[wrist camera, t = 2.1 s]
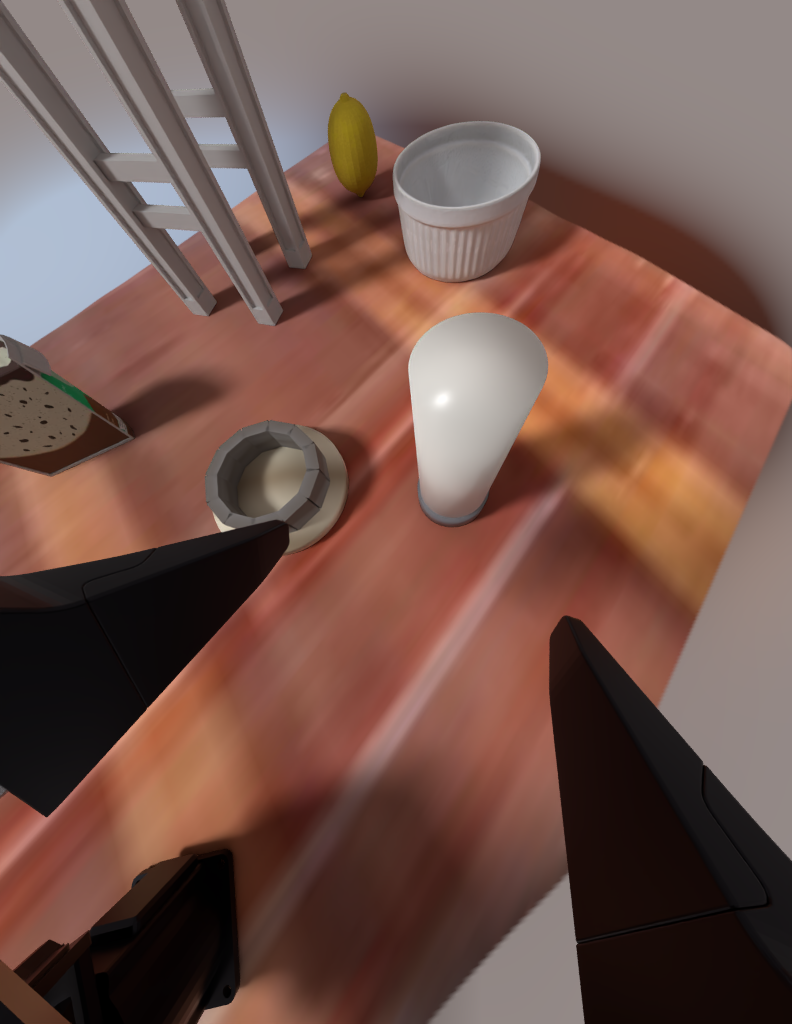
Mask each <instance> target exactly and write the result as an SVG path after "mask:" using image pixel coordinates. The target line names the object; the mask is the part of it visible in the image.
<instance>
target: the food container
mask: <svg viewBox="0 0 792 1024" xmlns="http://www.w3.org/2000/svg"><path fill="white" fill-rule="evenodd" d="M132 439H135V437H134V433H133V430H132V429H131V428H130V426H129V425H128V424H127V423H126V422H125V421H124V420H122V419H121V418H119V417H118V416H117V415H115V414H114V413H112V412H111V411H109V410H108V409H106V408H105V407H104V406H102V405H101V404H99V403H98V402H96V401H95V400H94V399H92V398H91V397H89V396H88V395H86V394H85V393H83V392H82V391H81V390H79V389H78V388H76V387H75V386H73V385H72V384H71V383H69V382H68V381H66V380H65V379H63V378H62V377H60V376H59V375H58V374H56V373H55V372H53V371H52V370H51V367H50V365H49V363H48V360H47V359H46V358H45V357H44V355H43V354H41V353H40V352H39V351H37V350H35V349H33V348H31V347H29V346H27V345H25V344H22V343H20V342H18V341H16V340H14V339H12V338H10V337H7V336H4V335H0V463H2V464H6V465H10V466H13V467H17V468H21V469H25V470H28V471H32V472H36V473H39V474H43V475H47V476H51V477H52V476H54V475H56V474H58V473H61V472H63V471H65V470H67V469H69V468H71V467H74V466H76V465H78V464H80V463H82V462H85V461H87V460H89V459H91V458H93V457H95V456H98V455H100V454H102V453H104V452H106V451H108V450H111V449H113V448H115V447H117V446H119V445H122V444H124V443H126V442H128V441H130V440H132Z"/></svg>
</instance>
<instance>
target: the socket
mask: <svg viewBox="0 0 792 1024" xmlns="http://www.w3.org/2000/svg"><path fill="white" fill-rule="evenodd" d="M219 449H220V450H218V449H217V451H216V453H215V455H214V457H213V459H212V461H211V463H210V466H209V468H208V470H207V472H206V474H205V475H207V476H205V488H206V502H207V505H208V506H209V507H210V509H211V510H212V511H213V514H214V518H215V521H216V523H217V525H218V527H219V529H220V530H221V532H225V531H229V530H233V529H237V528H241V527H246V526H250V525H254V524H258V523H263V522H267V521H271V520H276V519H278V520H281V521H284V522H287V523H288V525H289V538H290V543H289V546H288V548H287V550H286V551H285V552H284V554H283V555H282V556H285V555H289V554H294V553H296V552H299V551H302V550H304V549H306V548H308V547H310V546H312V545H313V544H315V543H316V542H318V541H319V540H320V539H321V538H322V537H324V536H325V535H326V534H327V533H328V532H329V531H330V530H331V528H332V527H333V526H334V525H335V523H336V522H337V520H338V519H339V517H340V515H341V513H342V511H343V509H344V506H345V504H346V500H347V496H348V489H349V478H348V472H347V468H346V465H345V462H344V460H343V458H342V456H341V455H340V453H339V452H338V450H337V449H336V447H335V446H334V444H333V443H332V442H331V441H330V440H329V439H328V438H327V437H326V436H324V435H323V434H322V433H320V432H318V431H316V430H314V429H312V428H309V427H306V426H301V425H295V424H289V423H283V422H278V421H272V420H270V421H268V420H267V421H264V422H261V423H257V424H254V425H251V426H248V427H244V428H242V430H241V429H240V430H239V431H237V432H236V433H235V434H234V435H233V436H232V437H230V438H229V439H228V440H227V441H226V442H225V443H223V444H222V445H221V446H220V447H219Z"/></svg>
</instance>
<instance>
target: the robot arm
mask: <svg viewBox="0 0 792 1024" xmlns="http://www.w3.org/2000/svg"><path fill="white" fill-rule="evenodd" d="M289 543H290V538H289V525H288V523H287V522H284V521H281V520H278V519H276V520H271V521H267V522H263V523H258V524H254V525H250V526H246V527H241V528H237V529H233V530H229V531H225V532H220V533H216V534H212V535H208V536H203V537H199V538H195V539H191V540H186V541H182V542H178V543H174V544H170V545H165V546H161V547H158V548H152V549H148V550H144V551H140V552H135V553H131V554H126V555H122V556H117V557H112V558H107V559H102V560H97V561H92V562H87V563H82V564H76V565H71V566H66V567H60V568H55V569H50V570H44V571H39V572H34V573H28V574H22V575H14V576H0V798H2V797H3V796H4V795H5V794H6V793H7V792H10V793H12V794H13V795H15V796H16V797H18V798H19V799H20V800H22V801H23V802H25V803H26V804H28V805H29V806H31V807H32V808H33V809H35V810H36V811H38V812H39V813H41V814H42V815H44V816H45V817H48V816H49V815H50V814H51V813H52V812H53V811H54V810H55V809H56V808H57V807H58V806H59V805H60V804H61V803H62V802H63V801H64V800H65V799H66V798H67V796H68V795H69V794H70V793H71V792H72V791H73V790H74V789H75V788H76V787H77V785H78V784H79V783H80V782H81V781H82V780H83V779H84V778H85V777H86V776H87V774H88V773H89V772H90V771H91V770H92V769H93V768H94V767H95V766H96V765H97V763H98V762H99V761H100V760H101V759H102V758H103V757H104V756H105V755H106V754H107V752H108V751H109V750H110V749H111V748H112V747H113V746H114V745H115V744H116V743H117V742H118V740H119V739H120V738H121V737H122V736H123V735H124V734H125V733H126V732H127V731H128V729H129V728H130V727H131V726H132V725H133V724H134V723H135V722H136V721H137V720H138V719H139V717H140V716H141V715H142V714H143V713H144V712H145V711H146V710H147V708H148V707H149V706H150V705H151V704H152V703H153V702H154V701H155V700H156V698H157V697H158V696H159V695H160V694H161V693H162V692H163V691H164V690H165V689H166V688H167V686H168V685H169V684H170V683H171V682H172V681H173V680H174V679H175V678H176V677H177V675H178V674H179V673H180V672H181V671H182V670H183V669H184V668H185V667H186V666H187V664H188V663H189V662H190V661H191V660H192V659H193V658H194V657H195V656H196V655H197V654H198V652H199V651H200V650H201V649H202V648H203V647H204V646H205V645H206V644H207V643H208V641H209V640H210V639H211V638H212V637H213V636H214V635H215V634H216V633H217V632H218V630H219V629H220V628H221V627H222V626H223V625H224V624H225V623H226V622H227V621H228V619H229V618H230V617H231V616H232V615H233V614H234V613H235V612H236V611H237V610H238V609H239V607H240V606H241V605H242V604H243V603H244V602H245V601H246V600H247V599H248V598H249V596H250V595H251V594H252V593H253V592H254V591H255V590H256V589H257V588H258V587H259V585H260V584H261V583H262V582H263V581H264V579H265V578H266V577H267V575H268V574H269V573H270V571H271V570H272V569H273V567H274V566H275V565H276V563H277V562H278V561H279V559H280V558H281V557H282V555H283V554H284V552H285V551H286V550H287V548H288V546H289ZM549 695H550V706H551V715H552V725H553V734H554V743H555V752H556V761H557V771H558V780H559V789H560V798H561V807H562V817H563V826H564V835H565V844H566V853H567V863H568V872H569V881H570V890H571V898H572V908H573V917H574V927H575V936H576V941H577V943H578V944H577V945H576V948H577V957H578V966H579V975H580V985H581V994H582V1003H583V1012H584V1021H585V1024H792V861H791V860H790V859H789V858H788V857H787V855H786V854H785V853H784V852H783V851H782V850H781V849H780V848H779V847H778V846H777V845H776V844H775V842H774V841H773V840H772V839H771V838H770V837H769V836H768V835H767V834H766V833H765V831H764V830H763V829H762V828H761V827H760V826H759V825H758V824H757V823H756V822H755V821H754V819H753V818H752V817H751V816H750V815H749V814H748V813H747V811H746V810H745V809H744V808H743V807H742V806H741V805H740V803H739V802H738V801H737V800H736V799H735V798H734V797H733V796H732V794H731V793H730V792H729V791H728V790H727V789H726V788H725V786H724V785H723V784H722V783H721V782H720V781H719V779H718V778H717V777H716V776H715V775H714V774H713V773H712V771H711V770H710V769H709V768H708V767H707V766H705V765H703V761H702V760H701V759H700V758H699V756H698V755H697V754H696V753H695V752H694V751H693V749H692V748H691V747H690V746H689V745H688V744H687V743H686V741H685V740H684V739H683V738H682V737H681V736H680V734H679V733H678V732H677V731H676V730H675V729H674V727H673V726H672V725H671V724H670V723H669V722H668V720H667V719H666V718H665V717H664V716H663V715H662V714H661V712H660V711H659V710H658V709H657V708H656V707H655V705H654V704H653V703H652V702H651V701H650V700H649V698H648V697H647V696H646V695H645V694H644V693H643V692H642V690H641V689H640V688H639V687H638V686H637V685H636V683H635V682H634V681H633V680H632V679H631V678H630V676H629V675H628V674H627V673H626V672H625V671H624V669H623V668H622V667H621V666H620V665H619V664H618V663H617V661H616V660H615V659H614V658H613V657H612V656H611V654H610V653H609V652H608V651H607V650H606V649H605V647H604V646H603V645H602V644H601V643H600V642H599V640H598V639H597V638H596V637H595V636H594V635H593V634H592V632H591V631H590V630H589V629H588V628H587V627H586V625H585V624H584V623H583V622H582V621H581V620H579V619H576V618H573V617H570V616H567V615H566V616H563V617H562V618H561V619H560V621H559V623H558V624H557V626H556V627H555V629H554V630H553V632H552V634H551V636H550V653H549ZM222 859H223V860H224V862H225V864H223V863H222ZM228 985H229V986H230V987H231V989H230V988H229V987H228ZM239 986H240V973H239V956H238V939H237V922H236V905H235V888H234V871H233V856H232V853H231V851H230V850H228V849H223V850H219V851H215V852H211V853H207V854H203V855H199V856H198V855H196V854H189V855H185V856H182V857H178V858H174V859H170V860H166V861H162V862H159V863H158V864H157V865H156V866H155V867H153V868H149V869H145V870H143V871H142V872H141V873H140V874H139V875H138V876H136V878H135V879H134V880H133V883H132V889H131V890H130V891H129V892H128V893H127V894H126V895H125V896H124V897H122V898H121V899H120V900H119V901H118V902H117V903H116V904H115V905H114V906H113V907H112V908H111V909H110V910H109V911H108V912H107V913H106V914H105V915H104V916H103V917H102V918H101V919H100V920H99V921H97V922H96V923H95V924H94V925H93V926H92V928H91V929H90V931H89V930H88V931H87V932H85V933H84V934H83V935H82V936H80V937H79V938H78V939H76V940H75V941H74V942H73V943H71V944H70V945H69V943H67V944H66V945H64V943H63V944H62V945H60V944H58V943H56V942H54V941H52V940H50V939H49V940H48V941H47V942H45V943H44V944H43V945H41V946H40V947H39V948H38V949H36V950H35V951H34V952H33V953H32V954H31V955H30V956H29V957H27V958H26V959H25V960H24V961H23V962H22V963H21V964H19V965H18V966H17V967H16V968H15V969H14V970H13V971H12V970H11V969H10V968H9V967H8V966H7V965H6V964H4V963H3V962H2V961H1V960H0V1024H197V1023H198V1021H199V1019H200V1017H201V1016H202V1014H203V1012H204V1010H207V1009H211V1008H215V1007H219V1006H223V1005H228V1004H230V1003H231V1002H232V1001H233V999H234V997H235V995H236V993H237V991H238V989H239Z"/></svg>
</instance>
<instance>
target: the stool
mask: <svg viewBox="0 0 792 1024" xmlns="http://www.w3.org/2000/svg"><path fill="white" fill-rule="evenodd" d="M57 1H58V3H59V4H60V6H61V8H62V9H63V11H64V12H65V14H66V16H67V17H68V19H69V20H70V22H71V24H72V25H73V27H74V28H75V30H76V32H77V33H78V35H79V36H80V38H81V40H82V41H83V43H84V45H85V46H86V48H87V49H88V51H89V53H90V54H91V56H92V57H93V59H94V61H95V62H96V64H97V65H98V67H99V69H100V70H101V72H102V73H103V75H104V76H105V78H106V80H107V81H108V83H109V85H110V86H111V88H112V89H113V91H114V93H115V94H116V96H117V97H118V99H119V100H120V102H121V104H122V105H123V107H124V109H125V110H126V112H127V113H128V115H129V116H130V118H131V120H132V121H133V123H134V125H135V126H136V128H137V129H138V131H139V133H140V134H141V136H142V137H143V139H144V141H145V142H146V144H147V146H148V147H149V149H150V150H151V152H152V154H144V153H143V154H142V153H140V154H139V153H138V154H137V153H110V152H109V150H108V149H107V148H106V146H105V145H104V144H103V142H102V141H101V139H100V138H99V137H98V135H97V134H96V133H95V131H94V130H93V128H92V127H91V126H90V124H89V123H88V121H87V120H86V118H85V117H84V116H83V114H82V113H81V111H80V110H79V109H78V107H77V106H76V104H75V103H74V102H73V100H72V99H71V98H70V96H69V95H68V93H67V92H66V91H65V89H64V88H63V86H62V85H61V84H60V82H59V81H58V79H57V78H56V77H55V75H54V74H53V72H52V71H51V70H50V68H49V67H48V65H47V64H46V63H45V61H44V60H43V58H42V57H41V56H40V54H39V53H38V51H37V50H36V49H35V47H34V46H33V45H32V43H31V42H30V40H29V39H28V37H27V36H26V35H25V33H24V32H23V31H22V29H21V28H20V26H19V25H18V24H17V22H16V21H15V19H14V18H13V17H12V15H11V14H10V13H9V11H8V10H7V8H6V7H5V6H4V4H3V3H2V1H1V0H0V81H1V83H2V84H3V85H4V86H5V88H6V89H7V90H8V91H9V92H10V94H11V95H12V96H13V97H14V98H15V100H16V101H17V102H18V103H19V104H20V106H21V107H22V108H23V109H24V110H25V112H26V113H27V114H28V115H29V116H30V118H31V119H32V120H33V121H34V122H35V124H36V125H37V126H38V127H39V128H40V130H41V131H42V132H43V133H44V135H46V137H47V138H48V139H49V140H50V141H51V143H52V144H53V145H54V147H55V148H56V149H57V150H58V151H59V152H60V154H61V155H62V156H63V157H64V159H65V160H66V161H67V162H68V163H69V164H70V166H71V167H72V168H73V169H74V171H75V172H76V173H77V174H78V175H79V177H80V178H81V179H82V180H83V181H84V183H85V184H86V185H87V186H88V188H89V189H90V190H91V191H92V192H93V194H94V195H95V196H96V197H97V198H98V199H99V201H100V202H101V203H102V204H103V206H104V207H105V208H106V209H107V210H108V212H109V213H110V214H111V215H112V216H113V218H114V219H115V220H116V221H117V222H118V224H119V225H120V226H121V227H122V229H123V230H124V231H125V232H126V233H127V235H128V236H129V237H130V238H131V239H132V240H133V242H134V243H135V244H136V245H137V247H138V248H139V249H140V250H141V251H142V253H143V254H144V255H145V256H146V257H147V259H148V260H149V261H150V262H151V263H152V265H153V266H154V267H155V268H156V269H157V271H158V272H159V273H160V274H161V276H162V277H163V278H164V279H165V280H166V282H167V283H168V284H169V285H170V286H171V288H172V289H173V290H174V291H175V292H176V294H177V295H178V296H179V297H180V298H181V300H182V301H183V302H184V303H185V304H186V306H187V307H188V308H189V309H190V310H191V312H192V313H193V314H197V315H203V316H209V314H210V313H211V311H212V309H213V308H214V306H215V305H216V303H217V301H216V300H215V298H214V297H213V295H212V294H211V293H210V291H209V290H208V289H207V287H206V286H205V284H204V283H203V282H202V280H201V279H200V277H199V276H198V275H197V273H196V272H195V270H194V269H193V268H192V266H191V265H190V263H189V262H188V261H187V259H186V258H185V256H184V255H183V254H182V252H181V251H180V249H179V248H178V247H177V245H176V244H175V242H174V241H173V240H172V238H171V237H170V236H169V234H168V233H167V231H166V230H165V229H178V230H190V231H201V232H202V234H203V235H204V237H205V239H206V240H207V242H208V243H209V245H210V247H211V248H212V250H213V251H214V253H215V255H216V256H217V258H218V259H219V261H220V263H221V264H222V266H223V267H224V269H225V271H226V272H227V274H228V275H229V277H230V279H231V280H232V282H233V283H234V285H235V287H236V288H237V290H238V291H239V293H240V295H241V296H242V298H243V299H244V301H245V303H246V304H247V306H248V307H249V309H250V311H251V312H252V314H253V316H254V317H255V319H256V320H257V322H258V323H259V324H266V325H272V326H275V325H276V323H277V321H278V319H279V317H280V315H281V314H282V312H283V309H282V307H281V306H280V304H279V302H278V300H277V298H276V296H275V294H274V292H273V290H272V288H271V286H270V284H269V282H268V280H267V278H266V276H265V274H264V272H263V270H262V268H261V266H260V264H259V262H258V261H257V259H256V257H255V255H254V253H253V251H252V249H251V247H250V245H249V243H248V241H247V239H246V237H245V235H244V233H243V231H242V229H241V227H240V225H239V223H238V221H237V219H236V217H235V216H234V214H233V212H232V210H231V208H230V206H229V204H228V202H227V200H226V198H225V196H224V194H223V192H222V190H221V188H220V186H219V184H218V182H217V180H216V178H215V176H214V175H213V173H212V171H211V169H210V168H244V169H245V168H246V169H248V171H249V173H250V176H251V178H252V181H253V183H254V186H255V188H256V190H257V193H258V195H259V197H260V200H261V202H262V204H263V207H264V209H265V211H266V214H267V216H268V218H269V221H270V223H271V225H272V228H273V230H274V232H275V235H276V237H277V240H278V242H279V244H280V247H281V249H282V251H283V254H284V256H285V258H286V261H287V263H288V265H289V267H291V268H301V269H305V268H306V266H307V264H308V263H309V261H310V259H311V257H312V253H311V250H310V247H309V245H308V242H307V239H306V236H305V233H304V230H303V227H302V224H301V221H300V218H299V216H298V213H297V210H296V207H295V204H294V201H293V198H292V195H291V192H290V190H289V187H288V184H287V181H286V178H285V175H284V172H283V169H282V166H281V163H280V161H279V158H278V155H277V152H276V149H275V146H274V144H273V140H272V137H271V134H270V132H269V129H268V126H267V123H266V120H265V117H264V114H263V112H262V108H261V106H260V103H259V100H258V97H257V94H256V91H255V88H254V85H253V82H252V79H251V76H250V74H249V71H248V68H247V65H246V62H245V59H244V56H243V53H242V50H241V47H240V45H239V42H238V39H237V36H236V33H235V30H234V27H233V25H232V21H231V18H230V16H229V13H228V10H227V7H226V4H225V1H224V0H176V2H177V5H178V7H179V9H180V12H181V14H182V16H183V19H184V21H185V24H186V25H187V28H188V30H189V33H190V35H191V38H192V40H193V42H194V44H195V47H196V49H197V52H198V54H199V56H200V58H201V61H202V63H203V66H204V68H205V70H206V73H207V75H208V77H209V80H210V82H211V84H212V87H213V88H211V89H187V90H170V89H169V86H168V84H167V82H166V81H165V79H164V77H163V75H162V73H161V71H160V69H159V67H158V65H157V63H156V61H155V59H154V57H153V55H152V53H151V51H150V49H149V47H148V45H147V43H146V42H145V39H144V37H143V36H142V34H141V32H140V30H139V28H138V26H137V24H136V22H135V20H134V18H133V16H132V14H131V12H130V10H129V8H128V6H127V4H126V2H125V0H57ZM199 117H200V118H202V117H226V119H227V122H228V124H229V127H230V129H231V132H232V134H233V136H234V138H235V141H236V143H237V144H234V145H233V144H230V145H229V144H198V143H197V141H196V139H195V137H194V135H193V133H192V132H191V130H190V127H189V126H188V124H187V122H186V120H185V118H199ZM131 182H157V183H171V184H172V186H173V187H174V189H175V190H176V192H177V194H178V195H179V197H180V198H181V200H182V202H183V203H184V205H185V206H186V207H183V206H164V205H147V204H146V202H145V201H144V199H143V198H142V196H141V195H140V194H139V192H138V191H137V190H136V188H135V187H134V186H133V184H132V183H131Z"/></svg>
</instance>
